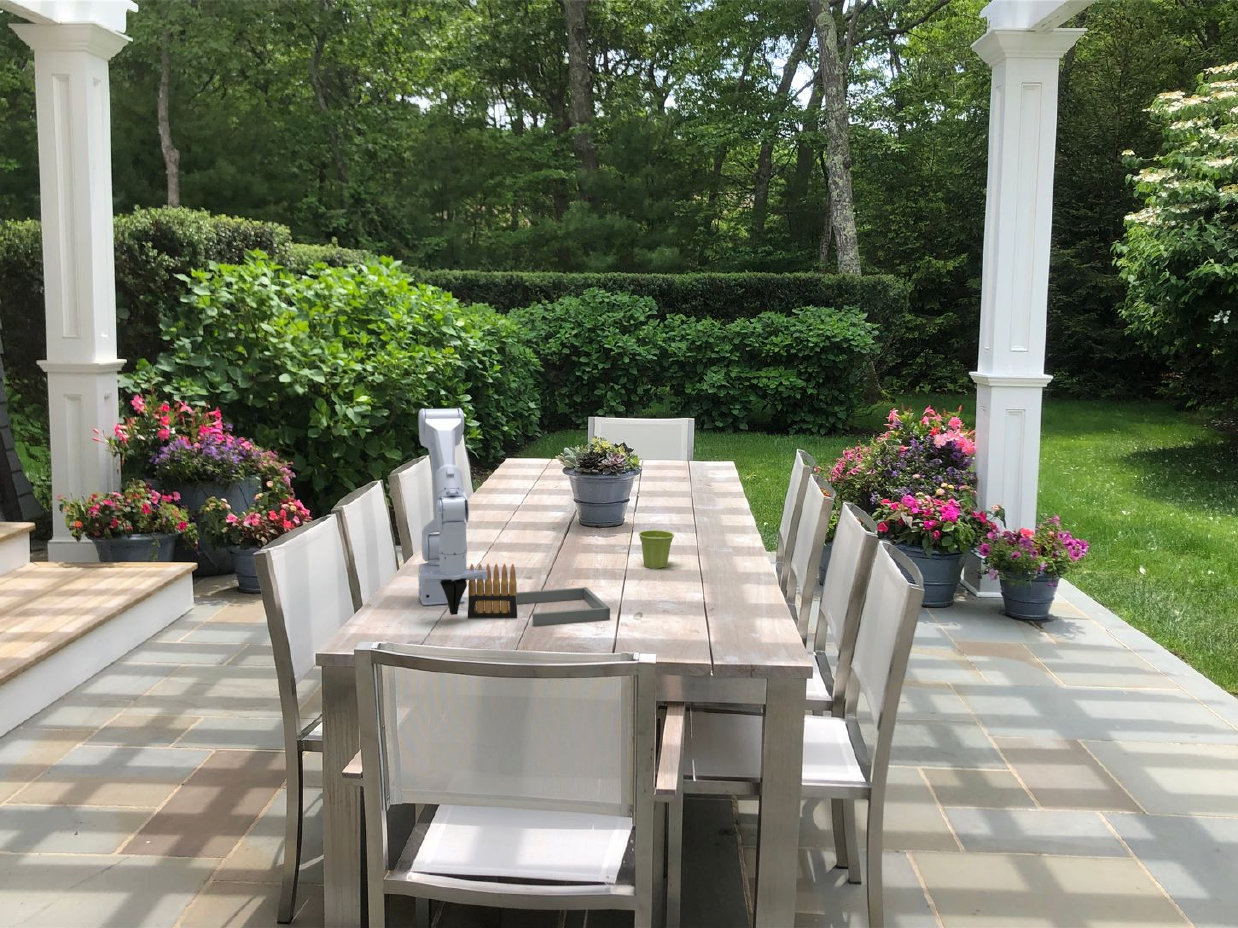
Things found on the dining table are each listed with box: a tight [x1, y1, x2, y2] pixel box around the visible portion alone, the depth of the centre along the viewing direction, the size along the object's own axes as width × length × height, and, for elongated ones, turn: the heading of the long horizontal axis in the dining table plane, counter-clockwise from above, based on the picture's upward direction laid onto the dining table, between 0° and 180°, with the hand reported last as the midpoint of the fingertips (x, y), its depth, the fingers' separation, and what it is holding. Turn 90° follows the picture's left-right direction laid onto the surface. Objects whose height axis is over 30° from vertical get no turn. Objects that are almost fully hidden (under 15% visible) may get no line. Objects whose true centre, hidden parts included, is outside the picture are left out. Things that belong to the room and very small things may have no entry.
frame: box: [517, 586, 611, 627], centre depth 231 cm, size 17×18×2 cm
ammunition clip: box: [467, 563, 518, 619], centre depth 225 cm, size 11×2×12 cm, turn 93°
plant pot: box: [638, 529, 675, 570], centre depth 272 cm, size 9×9×9 cm
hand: (453, 613), depth 223 cm, fingers closed
